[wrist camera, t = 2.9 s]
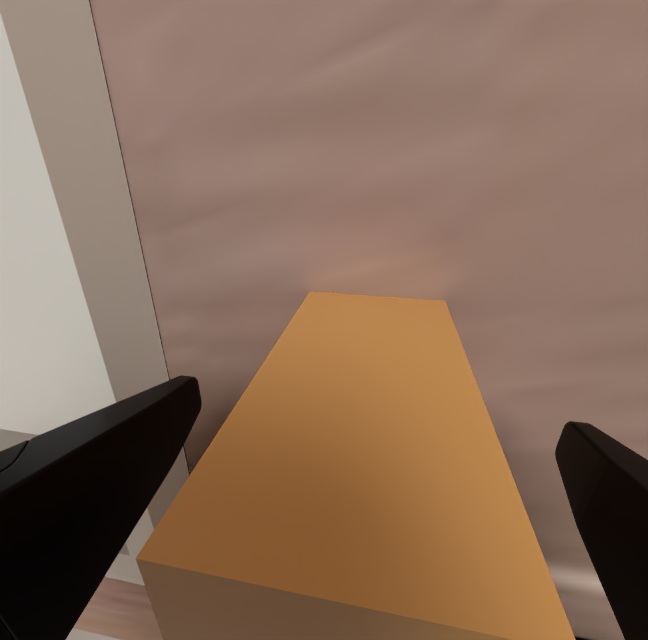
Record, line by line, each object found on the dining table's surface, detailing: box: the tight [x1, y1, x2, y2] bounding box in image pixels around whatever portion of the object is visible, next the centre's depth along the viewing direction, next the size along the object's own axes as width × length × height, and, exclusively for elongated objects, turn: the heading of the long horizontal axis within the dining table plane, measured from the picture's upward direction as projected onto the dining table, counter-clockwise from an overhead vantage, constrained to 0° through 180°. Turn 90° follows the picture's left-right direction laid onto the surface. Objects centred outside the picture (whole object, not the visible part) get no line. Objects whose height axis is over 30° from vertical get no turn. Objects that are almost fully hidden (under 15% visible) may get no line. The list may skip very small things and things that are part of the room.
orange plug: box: [135, 291, 576, 640], centre depth 7 cm, size 4×4×8 cm
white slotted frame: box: [0, 0, 189, 586], centre depth 11 cm, size 24×9×2 cm, turn 0°
